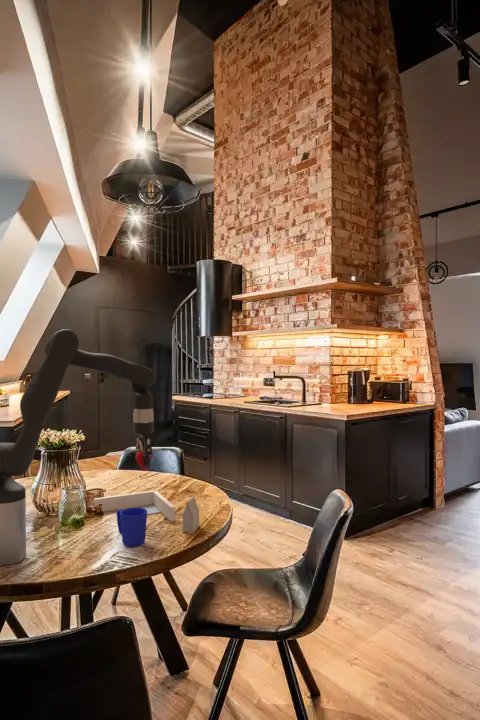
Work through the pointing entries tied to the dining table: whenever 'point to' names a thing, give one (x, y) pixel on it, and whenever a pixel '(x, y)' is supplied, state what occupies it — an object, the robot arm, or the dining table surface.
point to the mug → (132, 526)
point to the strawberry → (141, 459)
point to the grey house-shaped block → (191, 516)
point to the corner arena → (139, 503)
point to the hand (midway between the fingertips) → (143, 464)
